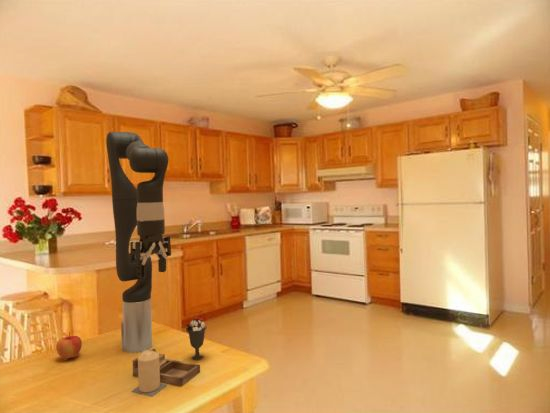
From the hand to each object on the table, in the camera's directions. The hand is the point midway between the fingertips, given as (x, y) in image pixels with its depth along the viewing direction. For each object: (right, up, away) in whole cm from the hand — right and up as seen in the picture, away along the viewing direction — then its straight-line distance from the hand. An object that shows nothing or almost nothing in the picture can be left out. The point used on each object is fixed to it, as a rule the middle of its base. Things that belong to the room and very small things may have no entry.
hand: (152, 274), depth 109 cm
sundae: (+10, -30, +14) cm, 34 cm away
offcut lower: (-1, -30, +4) cm, 30 cm away
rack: (+3, -30, +3) cm, 30 cm away
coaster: (+1, -30, -6) cm, 31 cm away
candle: (+1, -30, -5) cm, 30 cm away
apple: (-32, -30, +16) cm, 47 cm away
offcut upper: (-1, -27, +5) cm, 27 cm away
